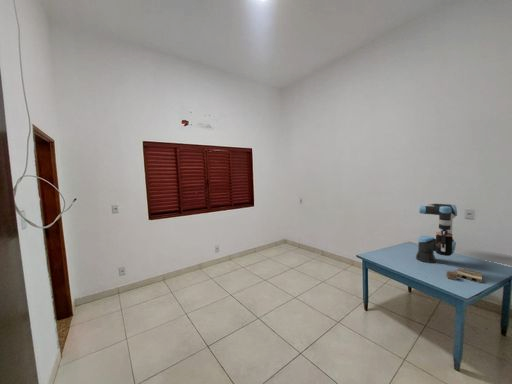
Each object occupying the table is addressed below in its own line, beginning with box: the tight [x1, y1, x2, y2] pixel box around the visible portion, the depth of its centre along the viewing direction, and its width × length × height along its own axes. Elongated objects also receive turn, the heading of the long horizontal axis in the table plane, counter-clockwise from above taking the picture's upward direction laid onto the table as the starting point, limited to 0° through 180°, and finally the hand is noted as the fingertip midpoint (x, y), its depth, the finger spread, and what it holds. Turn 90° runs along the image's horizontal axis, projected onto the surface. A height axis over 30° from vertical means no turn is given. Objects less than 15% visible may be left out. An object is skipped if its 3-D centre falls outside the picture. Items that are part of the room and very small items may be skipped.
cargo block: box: [445, 270, 458, 281], centre depth 169 cm, size 5×5×5 cm
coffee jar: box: [434, 231, 454, 257], centre depth 180 cm, size 11×11×18 cm
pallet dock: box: [456, 267, 483, 284], centre depth 170 cm, size 14×14×3 cm
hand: (443, 249), depth 180 cm, fingers closed on coffee jar, 10 cm apart
